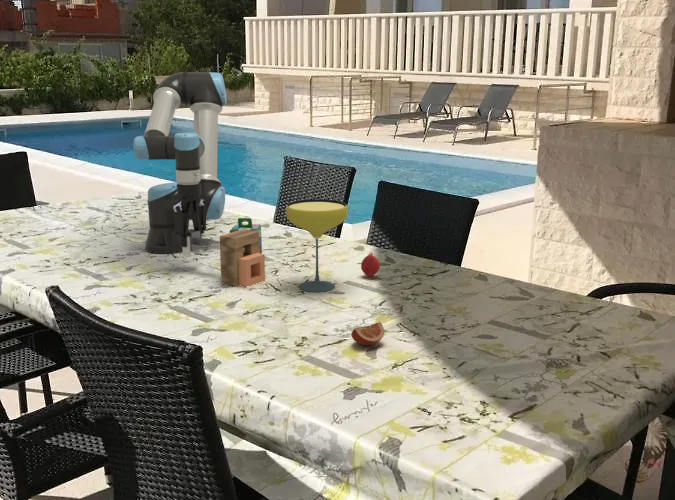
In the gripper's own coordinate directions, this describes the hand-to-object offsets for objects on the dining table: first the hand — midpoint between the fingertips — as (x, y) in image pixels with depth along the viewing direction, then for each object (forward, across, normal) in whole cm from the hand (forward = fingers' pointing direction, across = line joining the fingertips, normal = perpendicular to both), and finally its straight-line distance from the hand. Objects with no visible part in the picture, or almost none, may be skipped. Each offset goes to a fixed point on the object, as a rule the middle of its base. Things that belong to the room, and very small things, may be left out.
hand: (192, 254), depth 243 cm
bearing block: (+5, 0, -20) cm, 21 cm away
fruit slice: (+6, -22, -81) cm, 84 cm away
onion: (+5, +26, -51) cm, 58 cm away
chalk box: (+5, +19, -6) cm, 21 cm away
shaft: (-2, 0, -10) cm, 10 cm away
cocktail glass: (+5, +8, -43) cm, 45 cm away
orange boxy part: (+1, 0, -25) cm, 25 cm away
